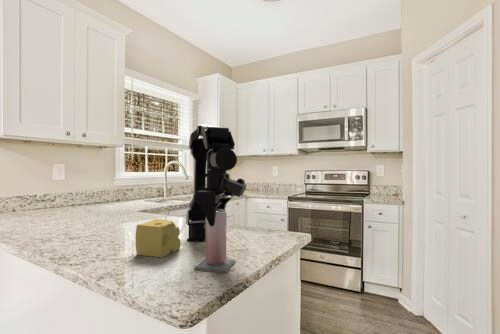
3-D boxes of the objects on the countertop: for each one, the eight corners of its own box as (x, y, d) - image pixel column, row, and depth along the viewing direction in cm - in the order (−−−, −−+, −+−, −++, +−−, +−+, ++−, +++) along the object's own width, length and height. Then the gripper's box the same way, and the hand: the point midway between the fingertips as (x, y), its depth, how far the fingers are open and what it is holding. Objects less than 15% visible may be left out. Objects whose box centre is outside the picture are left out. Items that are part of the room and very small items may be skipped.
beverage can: (206, 258, 83) (206, 208, 83) (226, 258, 83) (226, 208, 83) (204, 266, 77) (204, 212, 77) (226, 265, 77) (226, 212, 77)
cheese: (180, 249, 95) (180, 220, 95) (161, 259, 85) (161, 226, 85) (155, 246, 99) (155, 218, 99) (133, 255, 89) (134, 224, 89)
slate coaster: (194, 269, 76) (194, 267, 76) (207, 259, 85) (207, 257, 85) (225, 273, 74) (225, 270, 74) (234, 262, 83) (234, 259, 83)
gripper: (233, 171, 69) (233, 233, 69) (251, 170, 87) (250, 219, 87) (192, 170, 71) (191, 230, 71) (217, 169, 90) (217, 217, 90)
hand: (215, 223), depth 80 cm, fingers closed on beverage can, 6 cm apart
